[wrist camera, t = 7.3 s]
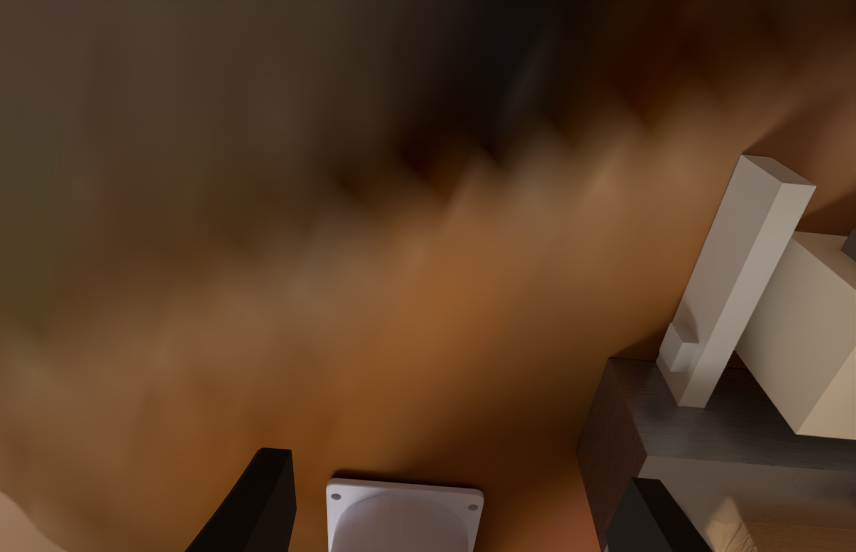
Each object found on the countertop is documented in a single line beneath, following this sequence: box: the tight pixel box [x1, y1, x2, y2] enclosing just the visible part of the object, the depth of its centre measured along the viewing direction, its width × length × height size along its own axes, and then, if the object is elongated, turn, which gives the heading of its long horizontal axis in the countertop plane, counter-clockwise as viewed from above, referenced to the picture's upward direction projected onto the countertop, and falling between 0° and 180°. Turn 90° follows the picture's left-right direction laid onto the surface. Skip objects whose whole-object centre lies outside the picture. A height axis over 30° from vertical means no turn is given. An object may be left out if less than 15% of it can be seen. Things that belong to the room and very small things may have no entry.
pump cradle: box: [656, 155, 816, 408], centre depth 18 cm, size 9×11×2 cm
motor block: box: [576, 358, 856, 552], centre depth 21 cm, size 6×14×6 cm, turn 86°
